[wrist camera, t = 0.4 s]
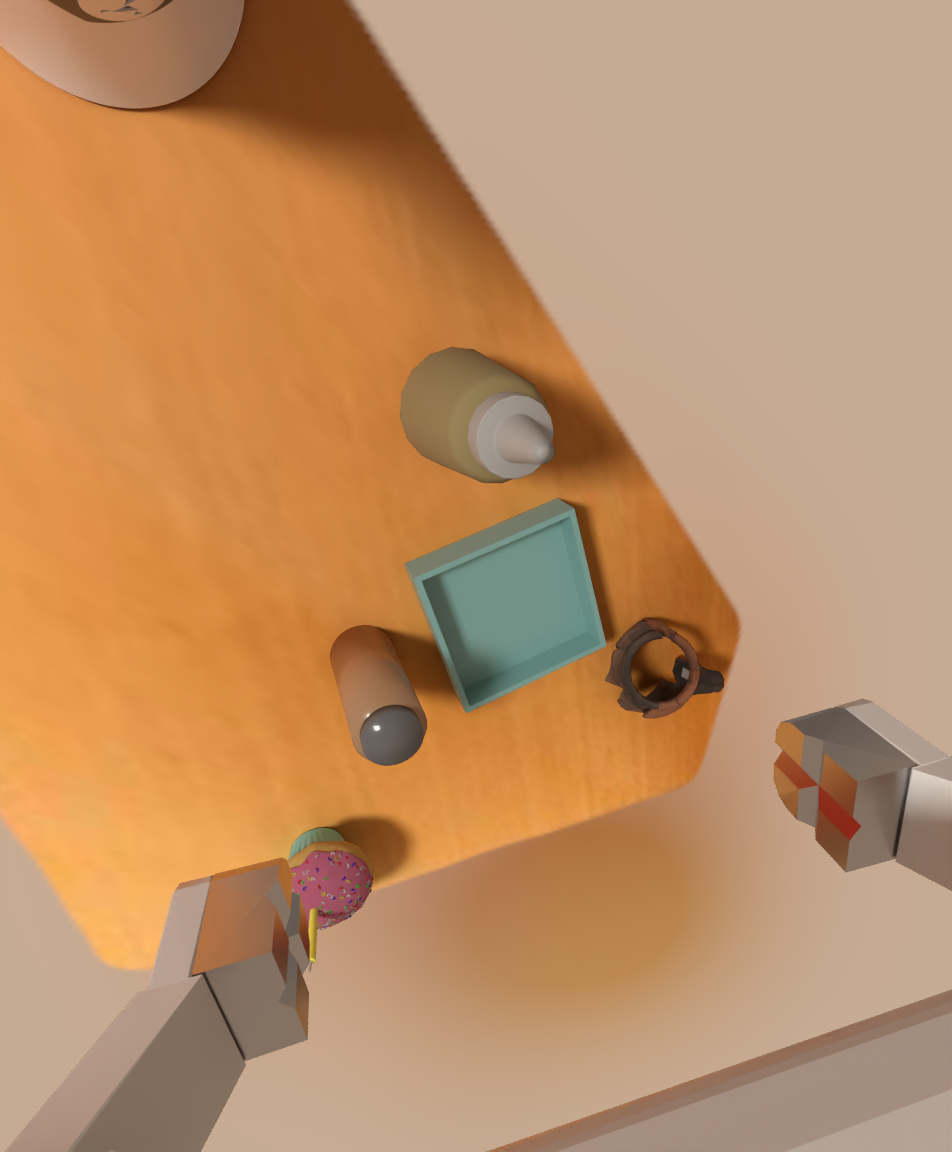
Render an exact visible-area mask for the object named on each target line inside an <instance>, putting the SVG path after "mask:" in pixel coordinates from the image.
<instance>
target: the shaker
mask: <svg viewBox="0 0 952 1152" xmlns="http://www.w3.org/2000/svg"><path fill="white" fill-rule="evenodd" d="M330 661H331V665H332V668H333V672H334V676H335V679H336V683H337V687H338V690H339V694H340V698H341V701H342V705H343V709H344V712H345V716H346V720H347V723H348V727H349V731H350V734H351V738H352V742H353V745H354V747H355V749H356V751H357V752H358V753H359V754H360V755H361V756H362V757H364V758H366V759H368V760H370V761H372V762H373V763H376V764H379V765H384V766H389V765H396V764H399V763H402V762H404V761H406V760H408V759H409V758H411V757H412V756H413V755H414V754H415V753H416V752H417V751H418V749H419V748H420V746H421V744H422V742H423V738H424V736H425V733H426V730H427V719H426V716H425V713H424V711H423V709H422V707H421V705H420V702H419V700H418V698H417V696H416V694H415V692H414V689H413V687H412V685H411V683H410V681H409V679H408V677H407V674H406V672H405V670H404V668H403V666H402V664H401V661H400V659H399V657H398V655H397V653H396V651H395V649H394V646H393V644H392V642H391V640H390V638H389V636H388V635H387V634H386V633H385V632H384V631H383V630H381V629H379V628H377V627H374V626H369V625H361V626H356V627H353V628H350V629H348V630H346V631H345V632H343V633H342V634H341V635H340V636H339V637H338V638H337V639H336V640H335V642H334V643H333V645H332V648H331V652H330Z"/></svg>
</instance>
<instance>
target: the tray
mask: <svg viewBox="0 0 952 1152" xmlns="http://www.w3.org/2000/svg"><path fill="white" fill-rule="evenodd" d="M405 567H406V569H407V572H408V575H409V577H410V580H411V582H412V585H413V587H414V590H415V592H416V595H417V597H418V600H419V602H420V605H421V608H422V610H423V613H424V615H425V618H426V620H427V623H428V625H429V628H430V630H431V633H432V636H433V638H434V641H435V643H436V646H437V648H438V651H439V653H440V656H441V658H442V661H443V664H444V666H445V669H446V671H447V674H448V676H449V679H450V681H451V684H452V686H453V689H454V691H455V694H456V696H457V698H458V700H459V701H460V703H461V705H462V707H463V708H464V710H465V712H466V713H468V712H470V711H472V710H474V709H476V708H478V707H480V706H482V705H485V704H487V703H489V702H491V701H493V700H495V699H497V698H499V697H501V696H503V695H505V694H507V693H510V692H512V691H514V690H516V689H518V688H520V687H522V686H524V685H526V684H528V683H530V682H532V681H535V680H537V679H539V678H541V677H543V676H545V675H547V674H549V673H551V672H553V671H555V670H557V669H560V668H562V667H564V666H566V665H568V664H570V663H572V662H574V661H576V660H578V659H580V658H582V657H585V656H587V655H589V654H591V653H593V652H595V651H597V650H599V649H601V648H603V647H605V646H607V645H606V641H605V637H604V633H603V628H602V624H601V620H600V616H599V611H598V607H597V603H596V599H595V594H594V590H593V586H592V581H591V577H590V573H589V569H588V564H587V560H586V556H585V552H584V547H583V543H582V539H581V535H580V530H579V526H578V522H577V518H576V513H575V509H574V508H573V507H571V506H570V505H568V504H566V503H565V502H563V501H562V500H560V499H558V498H557V499H555V500H552V501H550V502H548V503H545V504H543V505H541V506H538V507H536V508H534V509H531V510H529V511H527V512H524V513H522V514H520V515H517V516H515V517H513V518H510V519H508V520H506V521H503V522H501V523H499V524H496V525H494V526H492V527H489V528H487V529H485V530H482V531H480V532H478V533H475V534H473V535H471V536H468V537H466V538H464V539H461V540H459V541H457V542H454V543H452V544H450V545H447V546H445V547H443V548H440V549H438V550H436V551H433V552H431V553H429V554H426V555H424V556H422V557H419V558H417V559H415V560H412V561H410V562H408V563H405Z"/></svg>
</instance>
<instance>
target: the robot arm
mask: <svg viewBox="0 0 952 1152" xmlns="http://www.w3.org/2000/svg"><path fill="white" fill-rule="evenodd" d="M244 2H245V0H0V46H1V47H2V48H3V49H4V50H6V51H7V52H8V53H9V54H11V55H12V56H13V57H14V58H15V59H17V60H18V61H19V62H20V63H22V64H23V65H24V66H25V67H27V68H28V69H30V70H31V71H32V72H34V73H35V74H37V75H38V76H40V77H41V78H43V79H44V80H46V81H48V82H49V83H51V84H53V85H55V86H56V87H58V88H60V89H62V90H64V91H66V92H68V93H70V94H73V95H75V96H78V97H80V98H83V99H86V100H89V101H92V102H95V103H99V104H103V105H108V106H113V107H120V108H150V107H157V106H161V105H166V104H169V103H172V102H175V101H177V100H180V99H182V98H184V97H186V96H188V95H190V94H191V93H193V92H195V91H196V90H197V89H199V88H200V87H201V86H203V85H204V84H205V83H206V82H207V81H208V80H209V79H210V78H211V77H212V76H213V75H214V74H215V73H216V72H217V71H218V69H219V68H220V67H221V65H222V64H223V62H224V61H225V59H226V58H227V56H228V54H229V52H230V50H231V48H232V46H233V44H234V42H235V39H236V36H237V33H238V31H239V27H240V23H241V20H242V15H243V9H244ZM775 742H776V743H777V745H778V746H779V747H780V748H781V749H782V750H783V751H782V752H781V754H780V755H779V757H778V758H777V760H776V761H775V763H774V782H775V785H776V788H777V791H778V794H779V797H780V798H781V800H782V801H783V803H784V805H785V806H786V808H787V809H788V810H789V811H790V812H791V814H792V815H793V816H794V817H795V818H796V819H797V820H799V821H802V822H804V823H806V824H809V825H811V826H813V827H815V837H816V841H817V842H818V843H819V844H820V845H821V846H822V847H823V848H824V850H825V851H826V852H827V853H828V854H829V855H830V856H831V857H832V858H833V859H834V860H835V861H836V862H837V863H838V865H839V866H840V867H841V868H842V869H843V870H844V871H845V872H849V871H853V870H856V869H859V868H863V867H867V866H871V865H874V864H878V863H881V862H885V861H889V860H892V859H896V862H897V863H899V864H901V865H903V866H905V867H907V868H909V869H911V870H913V871H915V872H916V873H919V874H920V875H922V876H924V877H926V878H928V879H930V880H932V881H934V882H936V883H938V884H940V885H941V886H943V887H945V888H947V889H949V890H951V891H952V756H951V757H949V756H948V755H946V754H945V753H944V752H942V751H941V750H939V749H938V748H937V747H935V746H934V745H932V744H931V743H929V742H928V741H927V740H925V739H924V738H923V737H921V736H920V735H919V734H917V733H915V732H914V731H913V730H912V729H910V728H909V727H907V726H906V725H904V724H903V723H902V722H900V721H899V720H897V719H896V718H895V717H893V716H892V715H891V714H889V713H888V712H886V711H885V710H884V709H882V708H881V707H879V706H878V705H876V704H875V703H873V702H871V701H868V700H865V699H860V700H857V701H853V702H850V703H846V704H843V705H840V706H836V707H834V708H830V709H826V710H822V711H819V712H815V713H812V714H808V715H805V716H802V717H798V718H794V719H791V720H787V721H783V722H780V724H779V726H778V728H777V729H776V740H775ZM292 876H293V875H292V872H291V870H290V867H289V865H288V863H287V860H286V859H284V858H278V859H274V860H270V861H266V862H262V863H258V864H254V865H250V866H246V867H242V868H238V869H233V870H229V871H225V872H221V873H217V874H215V875H213V876H209V877H204V878H200V879H196V880H192V881H188V882H183V883H180V884H179V886H178V887H177V888H176V890H175V891H174V893H173V896H172V900H171V903H170V907H169V911H168V915H167V919H166V922H165V926H164V930H163V934H162V938H161V941H160V945H159V949H158V953H157V957H156V960H155V964H154V968H153V972H152V976H151V979H150V984H149V987H148V990H146V991H142V992H139V993H137V994H136V995H135V996H134V997H133V998H132V999H131V1001H130V1002H129V1003H128V1004H127V1005H126V1007H125V1008H124V1009H123V1010H122V1011H121V1013H120V1014H119V1015H118V1016H117V1017H116V1019H115V1020H114V1021H113V1022H112V1023H111V1025H110V1026H109V1027H108V1028H107V1030H106V1031H105V1032H104V1033H103V1034H102V1035H101V1037H100V1038H99V1039H98V1040H97V1041H96V1043H95V1044H94V1045H93V1046H92V1048H91V1049H90V1050H89V1051H88V1052H87V1053H86V1055H85V1056H84V1057H83V1058H82V1059H81V1061H80V1062H79V1063H78V1064H77V1066H76V1067H75V1068H74V1069H73V1070H72V1071H71V1073H70V1074H69V1075H68V1076H67V1078H66V1079H65V1080H64V1081H63V1083H62V1084H61V1085H60V1086H59V1087H58V1088H57V1090H56V1091H55V1092H54V1093H53V1094H52V1096H51V1097H50V1098H49V1099H48V1100H47V1102H46V1103H45V1104H44V1105H43V1106H42V1108H41V1109H40V1110H39V1111H38V1112H37V1114H36V1115H35V1116H34V1117H33V1118H32V1120H31V1121H30V1122H29V1123H28V1125H27V1126H26V1127H25V1128H24V1129H23V1131H22V1132H21V1133H20V1134H19V1135H18V1136H17V1138H16V1139H15V1140H14V1141H13V1143H12V1144H11V1145H10V1146H9V1147H8V1149H7V1150H6V1151H5V1152H201V1150H202V1148H203V1146H204V1144H205V1142H206V1141H207V1138H208V1137H209V1135H210V1133H211V1131H212V1129H213V1127H214V1125H215V1123H216V1121H217V1120H218V1118H219V1116H220V1114H221V1112H222V1110H223V1108H224V1106H225V1104H226V1102H227V1100H228V1098H229V1097H230V1094H231V1093H232V1091H233V1089H234V1087H235V1085H236V1083H237V1081H238V1079H239V1077H240V1075H241V1073H242V1072H243V1070H244V1068H245V1066H246V1064H245V1062H244V1061H247V1060H250V1059H252V1058H255V1057H258V1056H261V1055H264V1054H267V1053H270V1052H273V1051H276V1050H279V1049H282V1048H285V1047H288V1046H291V1045H293V1044H296V1043H299V1042H302V1041H305V1040H307V1039H308V1008H309V991H308V989H307V986H306V984H305V981H304V978H303V975H302V974H303V973H304V971H305V970H306V968H307V966H308V965H309V963H310V941H309V931H308V922H307V918H306V913H305V909H304V906H303V903H302V900H301V897H300V896H299V895H297V894H295V893H294V892H292ZM487 1152H952V990H949V991H946V992H943V993H941V994H938V995H935V996H932V997H929V998H926V999H924V1000H920V1001H918V1002H915V1003H912V1004H909V1005H906V1006H903V1007H900V1008H897V1009H895V1010H892V1011H889V1012H886V1013H883V1014H881V1015H877V1016H875V1017H872V1018H869V1019H866V1020H863V1021H860V1022H857V1023H854V1024H851V1025H849V1026H846V1027H843V1028H840V1029H837V1030H834V1031H831V1032H828V1033H826V1034H823V1035H820V1036H817V1037H814V1038H811V1039H808V1040H805V1041H803V1042H800V1043H797V1044H794V1045H791V1046H788V1047H786V1048H782V1049H780V1050H777V1051H774V1052H771V1053H768V1054H765V1055H762V1056H759V1057H757V1058H754V1059H751V1060H748V1061H745V1062H742V1063H739V1064H737V1065H734V1066H731V1067H728V1068H725V1069H722V1070H720V1071H716V1072H714V1073H711V1074H708V1075H705V1076H702V1077H700V1078H696V1079H694V1080H691V1081H688V1082H685V1083H682V1084H679V1085H676V1086H674V1087H671V1088H668V1089H666V1090H662V1091H660V1092H656V1093H654V1094H651V1095H648V1096H645V1097H642V1098H639V1099H636V1100H634V1101H631V1102H628V1103H625V1104H622V1105H619V1106H616V1107H614V1108H611V1109H608V1110H605V1111H602V1112H599V1113H597V1114H594V1115H591V1116H588V1117H585V1118H582V1119H579V1120H577V1121H573V1122H571V1123H568V1124H565V1125H562V1126H559V1127H556V1128H553V1129H551V1130H548V1131H545V1132H542V1133H539V1134H536V1135H533V1136H531V1137H528V1138H525V1139H522V1140H519V1141H516V1142H513V1143H510V1144H507V1145H505V1146H502V1147H499V1148H496V1149H493V1150H490V1151H487Z"/></svg>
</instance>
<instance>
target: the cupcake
mask: <svg viewBox="0 0 952 1152" xmlns="http://www.w3.org/2000/svg"><path fill="white" fill-rule="evenodd" d="M287 863H288V865H289V867H290V870H291V872H292V875H293V876H292V892H294V893H295V894H297V895H299V896H300V897H301V900H302V903H303V906H304V909H305V913H306V918H307V922H308V929H309V941H310V963H309V969H308V972H310V971H311V965H312V963H314V962H315V960H316V941H317V929H321V928H324V929H325V928H327V927H331V926H333V925H335V924H337V923H339V922H341V921H343V920H345V919H348V918H349V917H351V916H352V914H353V913H355V912H356V911H357V910H358V909H360V908H362V907H361V906H362V905H363V904H364V902H365V900H366V898H367V897H368V895H369V893H370V892H371V887H372V884H373V882H372V880H373V867H372V864H371V862H370V860H369V859H368V857H367V856H366V855H365V854H364V853H363V852H362V850H361V849H360V847H359V846H358V845H356V844H353V843H350V842H345V840H344V839H343V837H342V836H341V835H340V834H339V833H338V832H337V831H335V830H333V829H330V828H316V829H312V830H309V831H307V832H305V833H304V834H302V835H301V836H300V837H299V838H298V839H297V840H296V841H295V842H294V844H293V846H292V848H291V852H290V856H289V859H288V860H287ZM321 930H322V929H321Z"/></svg>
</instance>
